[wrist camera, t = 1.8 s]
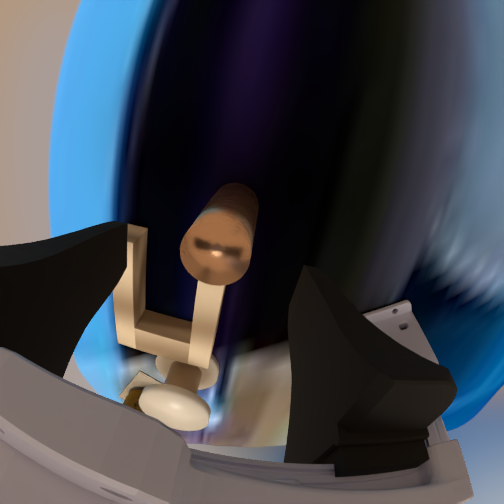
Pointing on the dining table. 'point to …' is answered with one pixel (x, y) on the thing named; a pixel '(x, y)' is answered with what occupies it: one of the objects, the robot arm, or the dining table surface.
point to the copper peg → (222, 236)
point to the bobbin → (180, 394)
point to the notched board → (159, 325)
